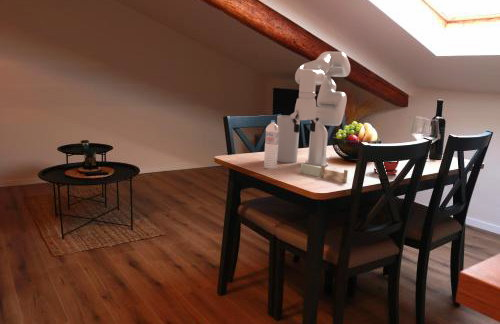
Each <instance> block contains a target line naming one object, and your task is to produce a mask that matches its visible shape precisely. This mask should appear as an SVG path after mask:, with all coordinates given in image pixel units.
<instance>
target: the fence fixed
mask: <svg viewBox="0 0 500 324" xmlns="http://www.w3.org/2000/svg"><path fill="white" fill-rule="evenodd" d="M320 167H321V177H320V178H321V179H324V180H325V179H326V180H331V181H333V182H338V183H343V184H347V181H348V174H349V173H348V169H344V171H343V172H342V171H337V170H333V169H328V168H326V166H325V165H322V166H320Z"/></svg>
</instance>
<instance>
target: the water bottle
mask: <svg viewBox="0 0 500 324" xmlns="http://www.w3.org/2000/svg"><path fill="white" fill-rule="evenodd" d="M264 140H265V141H264V142H265V143H264V155H263V157H264V158H263V159H264V160H263V169H264V170H276V169H278V141H279V127H278V126H277V123H276V120H274V119H271V121H270V123H269V124H268V125H267V126H266V128H265V139H264Z"/></svg>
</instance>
